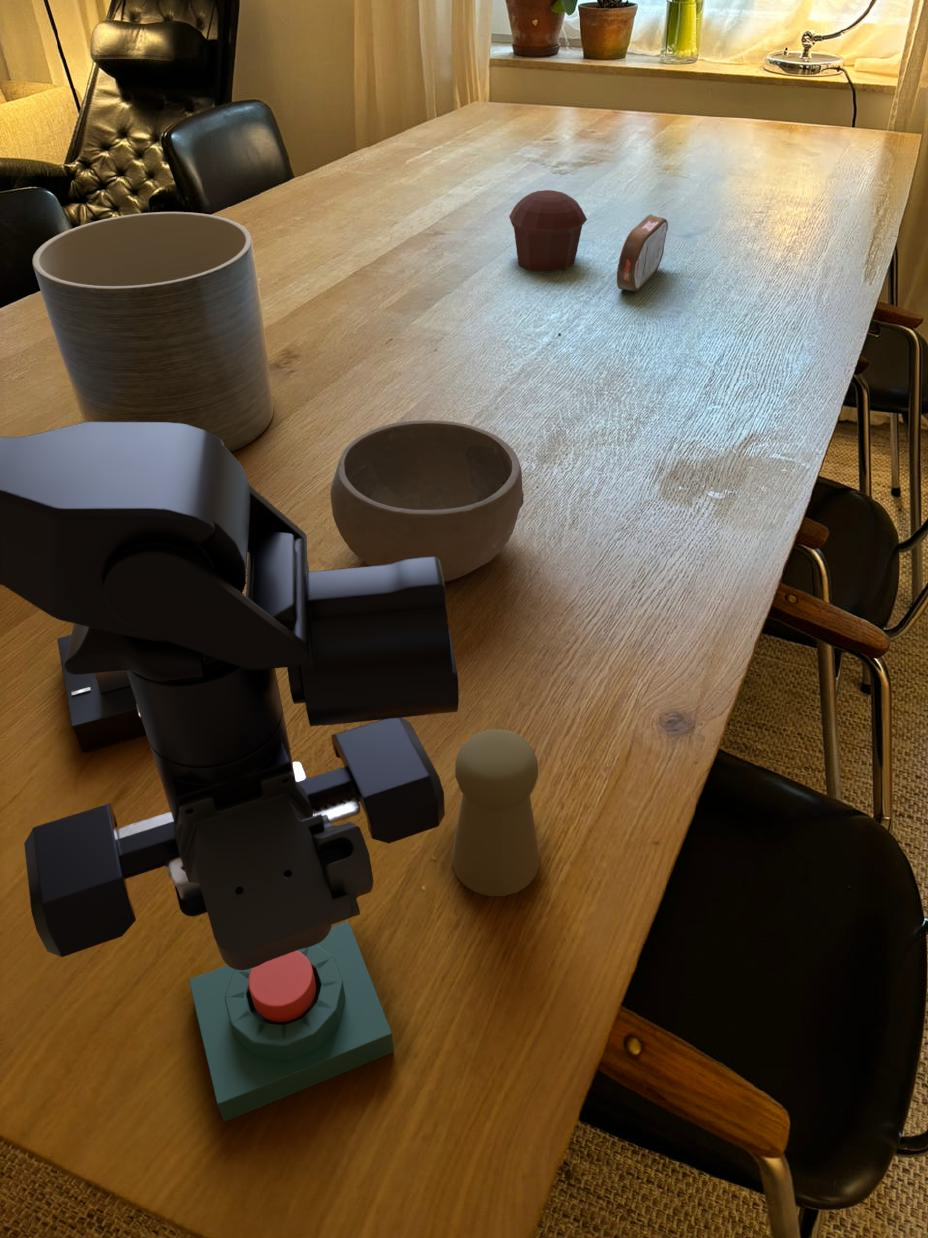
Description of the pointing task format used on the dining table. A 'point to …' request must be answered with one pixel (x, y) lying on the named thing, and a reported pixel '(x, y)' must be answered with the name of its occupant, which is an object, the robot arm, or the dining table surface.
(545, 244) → the muffin
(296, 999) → the button
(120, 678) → the grey rectangular block
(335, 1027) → the button block
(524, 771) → the brown pawn
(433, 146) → the dining table surface
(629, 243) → the tin
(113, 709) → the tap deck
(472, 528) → the bowl
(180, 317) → the planter
